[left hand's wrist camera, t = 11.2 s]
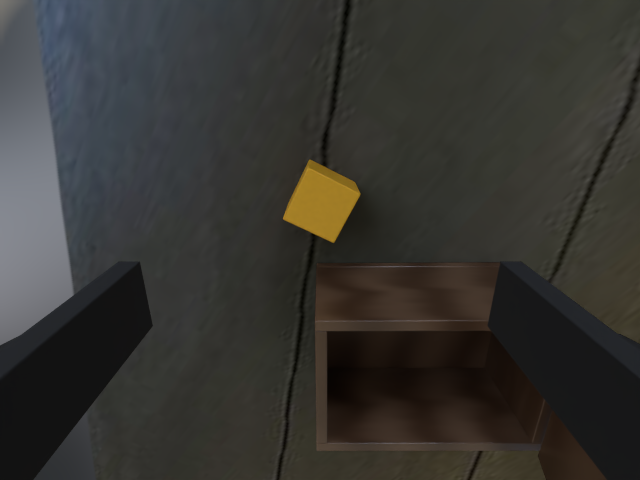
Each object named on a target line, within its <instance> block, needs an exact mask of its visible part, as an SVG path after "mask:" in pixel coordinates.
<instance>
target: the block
mask: <svg viewBox="0 0 640 480" xmlns="http://www.w3.org/2000/svg"><path fill="white" fill-rule="evenodd" d="M360 195H361V194H360V192H359V189H358V187H357V185H356V183H355V182H354V181H352V180H350V179H348V178H346V177H344V176H342V175H340V174H338V173H336V172H334V171H332V170H330V169H328V168H326V167H324V166H322V165H320V164H318V163H316V162H314V161H312V160H309V161H308V163H307V165H306V168H305V170H304V172H303V174H302V176H301V178H300V180H299V182H298V184H297V186H296V188H295V191H294V193H293V195H292V197H291V199H290V201H289V203H288V206H287V208H286V211H285V214H284V217H283V219H284V220H285V221H288V222H290V223H292V224H294V225H296V226H298V227H300V228H302V229H305V230H307V231H309V232H311V233H313V234H315V235H317V236H320V237H322V238H324V239H326V240H328V241H330V242H332V243H334V242H335V240H336V239H337V237H338V235H339V233H340V231H341V229H342V228H343V226H344V224H345V222H346V220H347V219H348V217H349V215H350V213H351V211H352V209H353V208H354V206H355V204H356V202H357V200H358V199H359V197H360Z"/></svg>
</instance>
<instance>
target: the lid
mask: <svg viewBox="0 0 640 480" xmlns="http://www.w3.org/2000/svg"><path fill="white" fill-rule="evenodd" d="M538 457H539V460H540V463H541V466H542V469H543V472H544V475H545V478H546V480H607V479H606V478H605V477H604V475H603V474H602V473H601V472H600V470H599V469H598V468H597V466H596V465H595V464H594V463H593V461H592V460H591V459H590V457H589V456H588V455H587V454H586V452H585V451H584V450H583V448H582V447H581V446H580V445H579V443H578V442H577V441H576V439H575V438H574V437H573V436H572V434H571V433H570V432H569V430H568V429H567V428H566V427H565V425H564V424H563V423H562V421H561V420H560V419H559V418H558V416H557V415H556V414H555V412H554V411H553V410H552V412H551V415H550V419H549V422H548V425H547V428H546V432H545V435H544V438H543V441H542V445H541V448H540V451H539V454H538Z"/></svg>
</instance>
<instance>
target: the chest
mask: <svg viewBox="0 0 640 480" xmlns="http://www.w3.org/2000/svg"><path fill="white" fill-rule="evenodd" d="M499 266H500V262H489V263H317V268H316V301H315V368H316V440H317V451H539V450H540V448H541V445H542V441H543V438H544V435H545V432H546V428H547V425H548V422H549V419H550V415H551V412H552V409H551V407H550V406H549V405H548V403H547V402H546V401H545V400H544V398H543V397H542V396H541V394H540V393H539V392H538V390H537V389H536V388H535V387H534V385H533V384H532V383H531V381H530V380H529V379H528V378H527V376H526V375H525V374H524V372H523V371H522V370H521V369H520V367H519V366H518V365H517V363H516V362H515V361H514V360H513V358H512V357H511V356H510V354H509V353H508V352H507V351H506V349H505V348H504V347H503V345H502V344H501V343H500V342H499V340H498V339H497V338H496V336H495V335H494V334H493V333H492V331H491V330H490V329H489V327H488V326H487V325H488V320H489V315H490V310H491V305H492V300H493V295H494V290H495V285H496V280H497V275H498V271H499Z"/></svg>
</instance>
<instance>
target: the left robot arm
mask: <svg viewBox="0 0 640 480" xmlns="http://www.w3.org/2000/svg"><path fill="white" fill-rule="evenodd" d="M152 326H153V325H152V320H151V315H150V310H149V305H148V300H147V295H146V290H145V285H144V280H143V275H142V271H141V266H140V262H118V263H116V264H115V265H114V266H112V267H111V268H110V269H108V270H107V271H106V272H104V273H103V274H102V275H100V276H99V277H98V278H96V279H95V280H94V281H92V282H91V283H90V284H88V285H87V286H86V287H84V288H83V289H82V290H80V291H79V292H78V293H76V294H75V295H74V296H72V297H71V298H70V299H68V300H67V301H66V302H64V303H63V304H62V305H60V306H59V307H58V308H56V309H55V310H54V311H52V312H51V313H50V314H48V315H47V316H46V317H44V318H43V319H42V320H40V321H39V322H38V323H36V324H35V325H34V326H32V327H31V328H30V329H28V330H27V331H26V332H24V333H23V334H22V335H20V336H18V337H16V338H14V339H12V340H10V341H8V342H6V343H4V344H2V345H0V480H33V479H34V478H35V477H36V475H37V474H38V473H39V472H40V470H41V469H42V468H43V466H44V465H45V464H46V462H47V461H48V460H49V459H50V457H51V456H52V455H53V454H54V452H55V451H56V450H57V448H58V447H59V446H60V445H61V443H62V442H63V441H64V439H65V438H66V437H67V436H68V434H69V433H70V432H71V430H72V429H73V428H74V427H75V425H76V424H77V423H78V421H79V420H80V419H81V418H82V416H83V415H84V414H85V412H86V411H87V410H88V409H89V407H90V406H91V405H92V403H93V402H94V401H95V400H96V398H97V397H98V396H99V394H100V393H101V392H102V390H103V389H104V388H105V387H106V385H107V384H108V383H109V381H110V380H111V379H112V378H113V376H114V375H115V374H116V372H117V371H118V370H119V369H120V367H121V366H122V365H123V363H124V362H125V361H126V360H127V358H128V357H129V356H130V354H131V353H132V352H133V351H134V349H135V348H136V347H137V345H138V344H139V343H140V342H141V340H142V339H143V338H144V336H145V335H146V334H147V333H148V331H149V330H150V329H151V327H152ZM487 326H488V327H489V329H490V330H491V331H492V333H493V334H494V335H495V336H496V338H497V339H498V340H499V342H500V343H501V344H502V345H503V347H504V348H505V349H506V351H507V352H508V353H509V354H510V356H511V357H512V358H513V360H514V361H515V362H516V363H517V365H518V366H519V367H520V369H521V370H522V371H523V372H524V374H525V375H526V376H527V378H528V379H529V380H530V381H531V383H532V384H533V385H534V387H535V388H536V389H537V390H538V392H539V393H540V394H541V396H542V397H543V398H544V400H545V401H546V402H547V403H548V405H549V406H550V407H551V409H552V410H553V411H554V412H555V414H556V415H557V416H558V418H559V419H560V420H561V421H562V423H563V424H564V425H565V427H566V428H567V429H568V430H569V432H570V433H571V434H572V436H573V437H574V438H575V439H576V441H577V442H578V443H579V445H580V446H581V447H582V448H583V450H584V451H585V452H586V454H587V455H588V456H589V457H590V459H591V460H592V461H593V463H594V464H595V465H596V466H597V468H598V469H599V470H600V472H601V473H602V474H603V475H604V477H605V478H606V479H607V480H640V344H639V343H637V342H635V341H633V340H631V339H629V338H627V337H625V336H623V335H621V334H617V333H616V332H614V331H613V330H612V329H610V328H609V327H608V326H606V325H605V324H604V323H602V322H601V321H600V320H598V319H597V318H596V317H594V316H593V315H592V314H590V313H589V312H588V311H586V310H585V309H584V308H582V307H581V306H580V305H578V304H577V303H576V302H574V301H573V300H572V299H570V298H569V297H568V296H566V295H565V294H564V293H562V292H561V291H560V290H558V289H557V288H556V287H554V286H553V285H552V284H550V283H549V282H548V281H546V280H545V279H544V278H542V277H541V276H540V275H538V274H537V273H536V272H534V271H533V270H532V269H530V268H529V267H528V266H526V265H525V264H524V263H522V262H500V266H499V271H498V275H497V280H496V285H495V290H494V295H493V300H492V305H491V310H490V315H489V320H488V325H487Z"/></svg>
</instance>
